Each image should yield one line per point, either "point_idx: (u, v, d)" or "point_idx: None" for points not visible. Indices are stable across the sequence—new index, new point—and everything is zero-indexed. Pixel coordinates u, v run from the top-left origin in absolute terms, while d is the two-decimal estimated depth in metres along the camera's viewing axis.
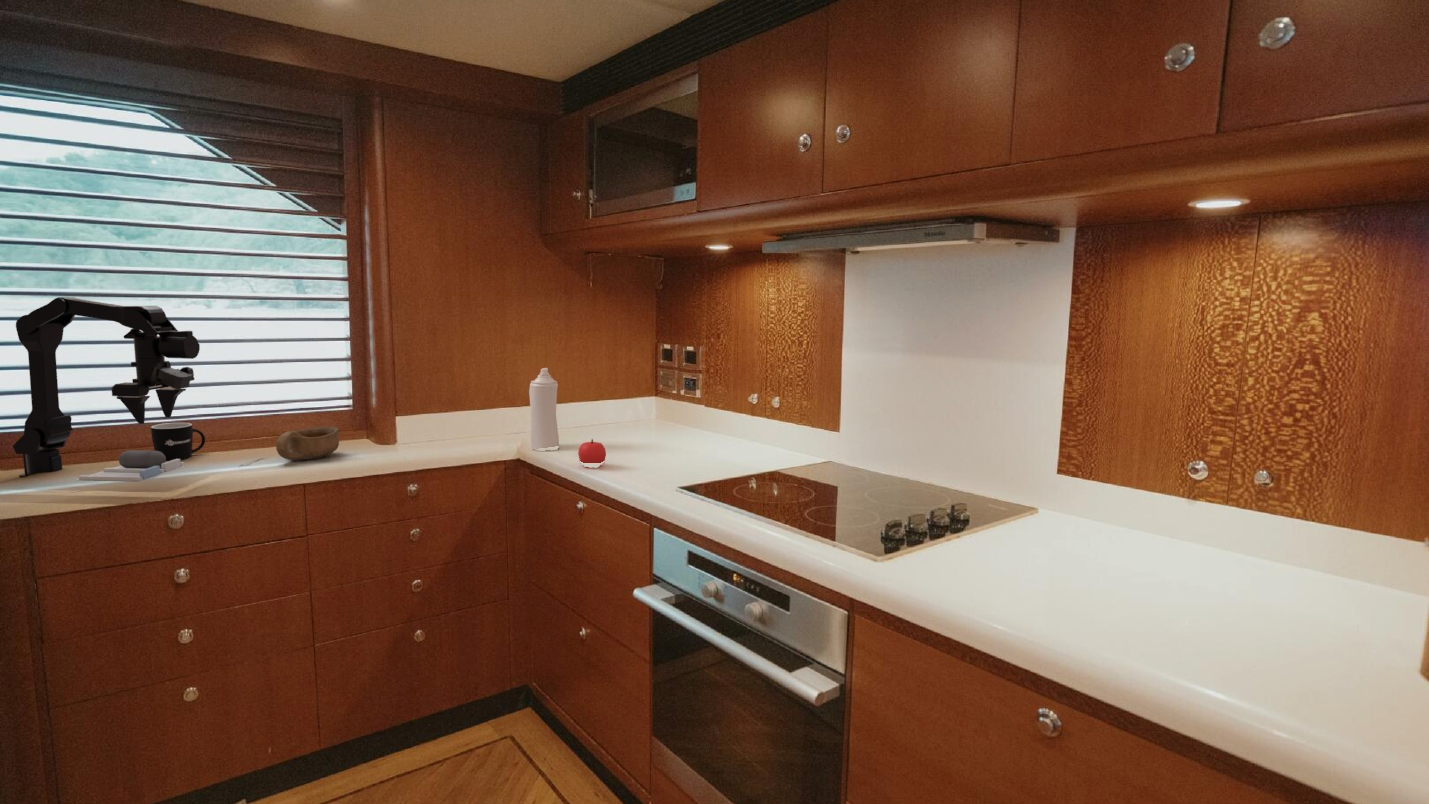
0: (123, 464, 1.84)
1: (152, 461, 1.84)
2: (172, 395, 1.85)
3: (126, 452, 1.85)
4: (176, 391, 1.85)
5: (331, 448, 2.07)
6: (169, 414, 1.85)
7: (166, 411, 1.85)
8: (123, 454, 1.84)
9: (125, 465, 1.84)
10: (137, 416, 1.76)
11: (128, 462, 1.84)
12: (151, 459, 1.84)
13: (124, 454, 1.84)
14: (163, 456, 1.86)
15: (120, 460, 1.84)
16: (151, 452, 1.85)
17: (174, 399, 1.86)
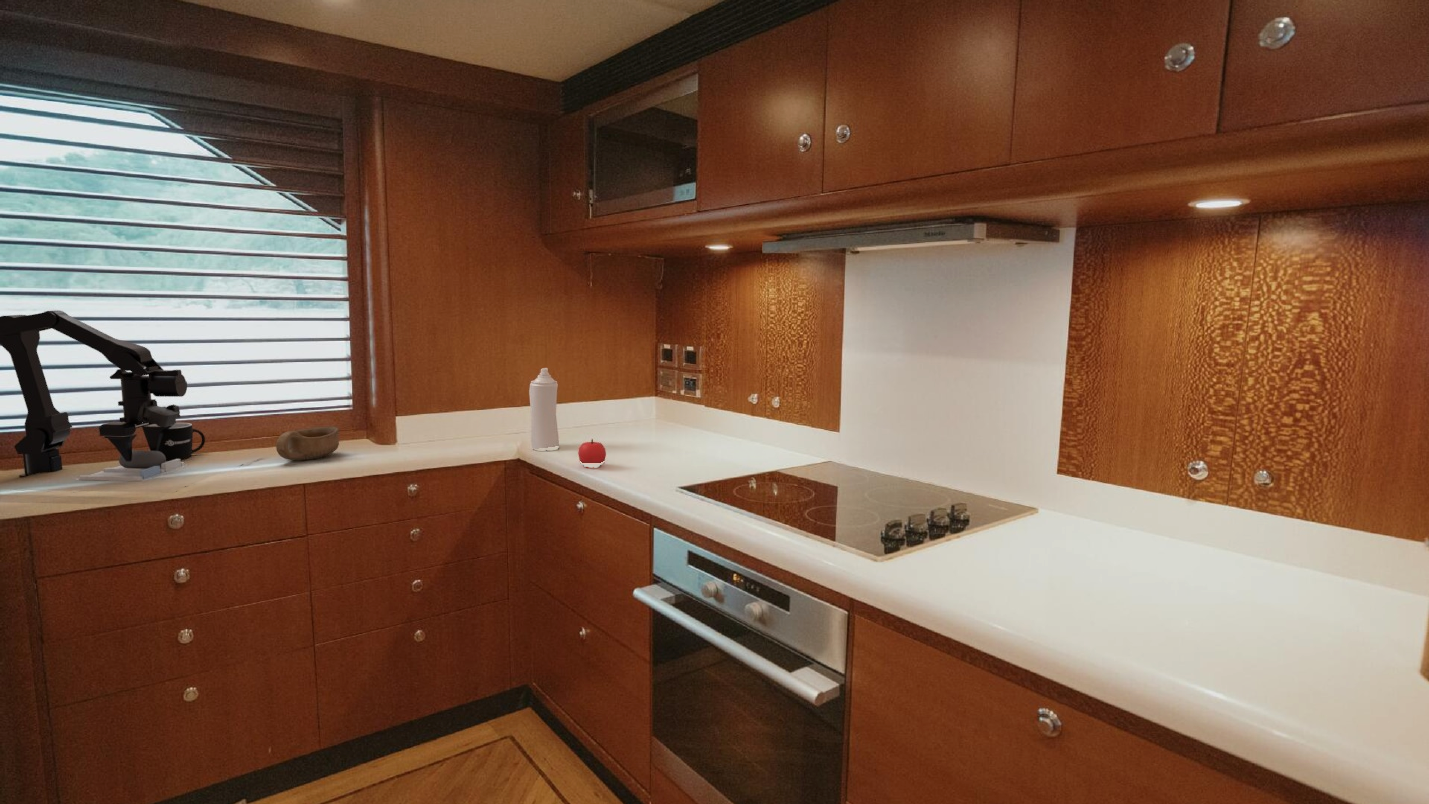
0: (123, 464, 1.84)
1: (152, 461, 1.84)
2: (158, 432, 1.90)
3: None
4: (162, 428, 1.90)
5: (331, 448, 2.07)
6: (155, 450, 1.90)
7: (152, 447, 1.90)
8: None
9: (125, 465, 1.84)
10: (124, 454, 1.80)
11: (128, 462, 1.84)
12: (151, 459, 1.84)
13: None
14: (163, 456, 1.86)
15: (120, 460, 1.84)
16: (151, 452, 1.85)
17: (160, 435, 1.90)
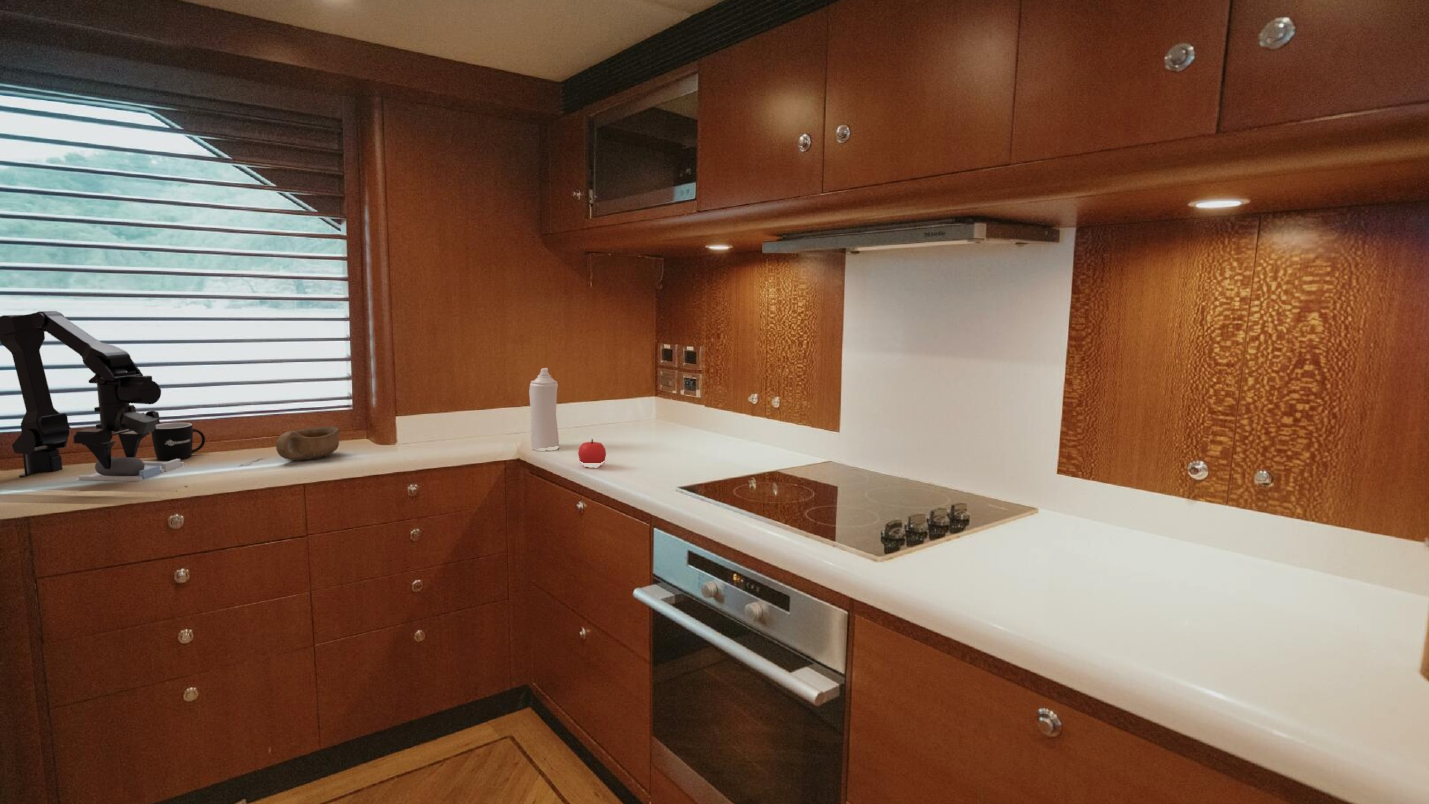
0: (99, 471, 1.77)
1: (129, 469, 1.77)
2: (135, 439, 1.82)
3: None
4: (139, 435, 1.82)
5: (331, 448, 2.07)
6: None
7: (129, 455, 1.82)
8: None
9: (102, 472, 1.77)
10: (103, 462, 1.74)
11: (105, 469, 1.76)
12: (129, 466, 1.77)
13: None
14: (141, 463, 1.79)
15: (96, 467, 1.76)
16: (129, 459, 1.78)
17: (137, 443, 1.82)
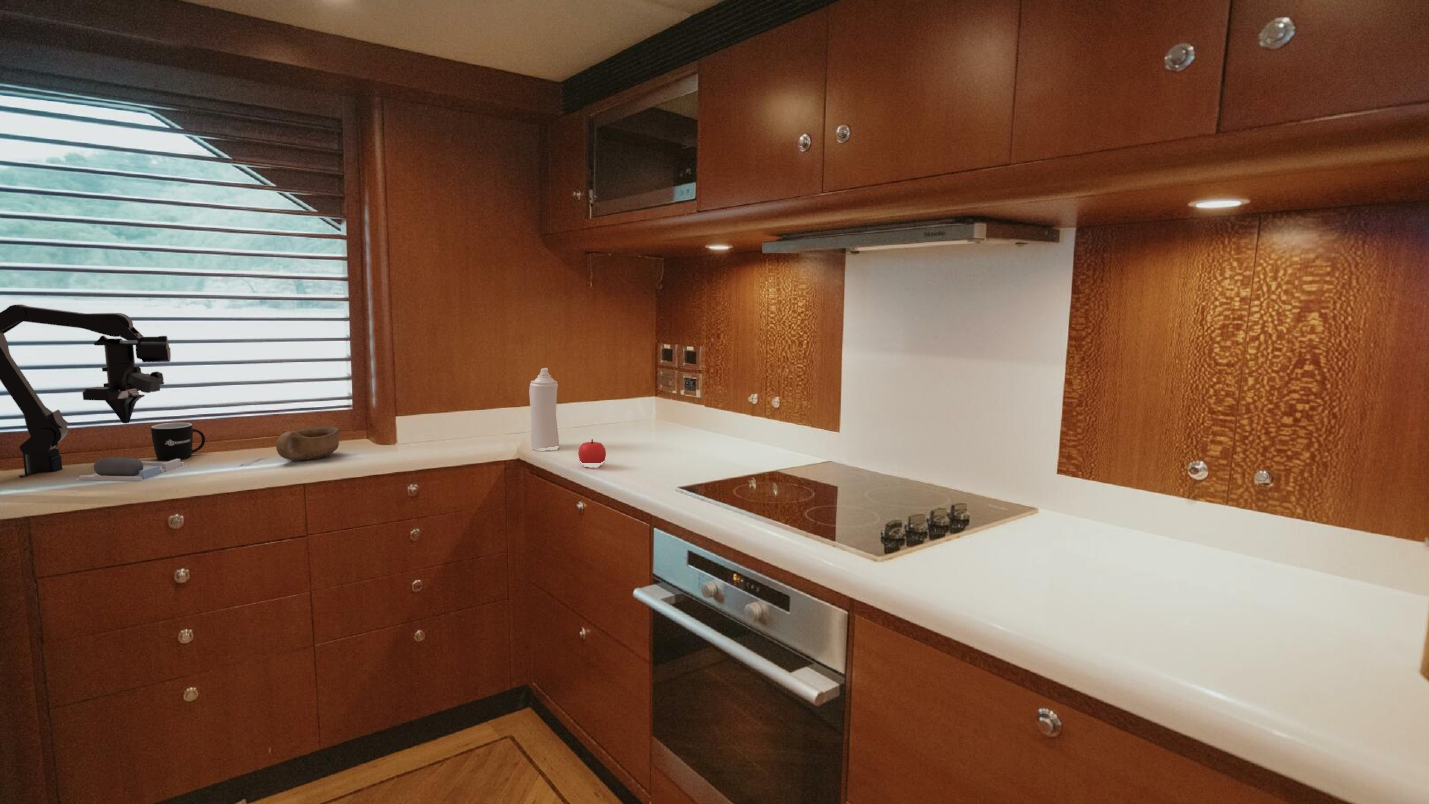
0: (99, 473, 1.76)
1: (128, 470, 1.76)
2: (130, 401, 1.88)
3: (100, 460, 1.76)
4: (134, 397, 1.89)
5: (331, 448, 2.07)
6: (127, 420, 1.89)
7: None
8: (97, 463, 1.76)
9: (101, 474, 1.77)
10: (121, 416, 1.87)
11: (104, 471, 1.76)
12: (128, 468, 1.76)
13: (99, 463, 1.76)
14: (140, 463, 1.78)
15: (95, 469, 1.76)
16: (126, 460, 1.77)
17: (132, 405, 1.89)
